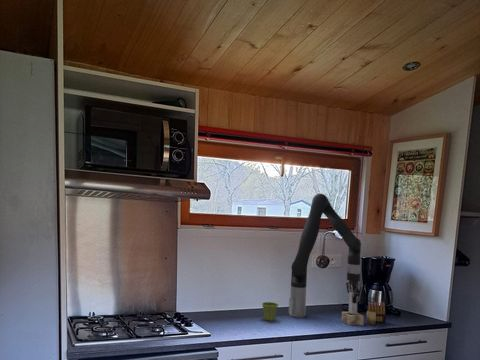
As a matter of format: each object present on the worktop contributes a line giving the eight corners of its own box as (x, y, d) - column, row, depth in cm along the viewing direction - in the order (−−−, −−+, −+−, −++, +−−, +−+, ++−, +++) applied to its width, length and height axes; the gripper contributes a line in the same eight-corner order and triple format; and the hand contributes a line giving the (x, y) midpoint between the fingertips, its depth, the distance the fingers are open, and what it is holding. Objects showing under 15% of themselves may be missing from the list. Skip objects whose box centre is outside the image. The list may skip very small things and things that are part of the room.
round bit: (369, 325, 212) (369, 313, 213) (364, 323, 217) (364, 310, 218) (377, 325, 213) (377, 312, 214) (372, 322, 218) (372, 310, 219)
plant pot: (280, 321, 212) (281, 305, 213) (266, 322, 208) (267, 306, 209) (272, 316, 221) (272, 301, 222) (258, 317, 217) (258, 302, 217)
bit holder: (348, 325, 211) (349, 316, 212) (341, 320, 220) (341, 311, 220) (363, 325, 213) (363, 316, 213) (355, 320, 222) (356, 311, 222)
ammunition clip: (384, 322, 221) (384, 301, 222) (385, 323, 219) (386, 302, 220) (366, 321, 220) (367, 301, 221) (368, 322, 218) (368, 301, 219)
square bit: (351, 313, 215) (352, 292, 216) (348, 312, 218) (349, 291, 219) (356, 313, 216) (357, 292, 216) (354, 312, 219) (354, 291, 220)
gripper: (342, 270, 225) (341, 299, 224) (353, 274, 211) (352, 305, 210) (353, 270, 226) (353, 299, 225) (365, 274, 213) (365, 305, 211)
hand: (352, 302), depth 217 cm, fingers closed on square bit, 3 cm apart
